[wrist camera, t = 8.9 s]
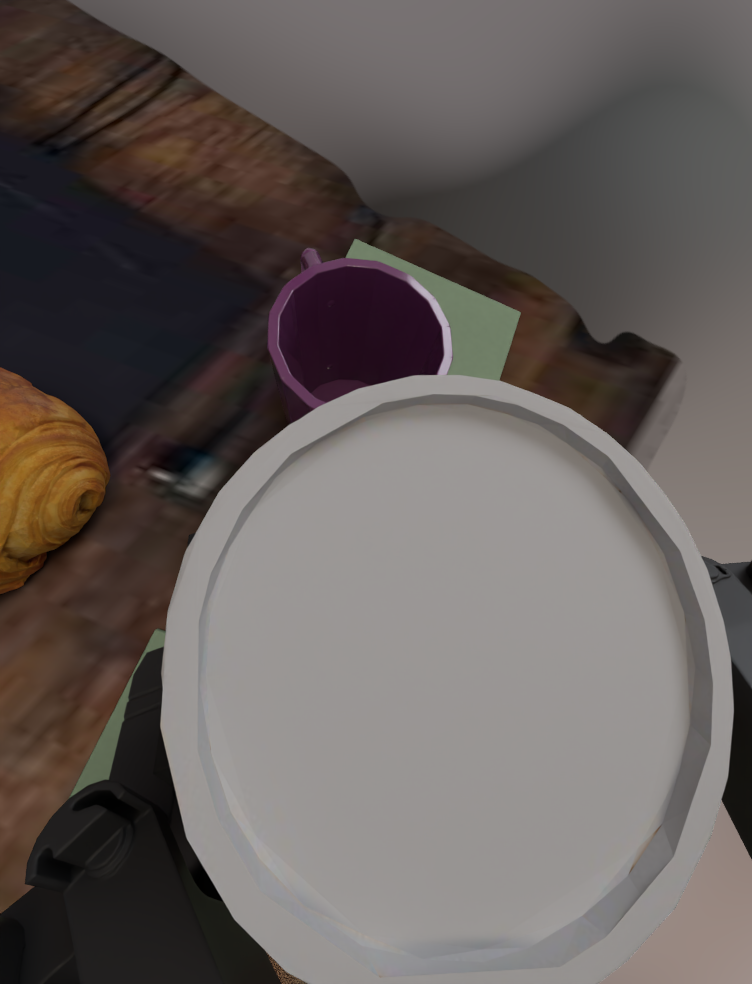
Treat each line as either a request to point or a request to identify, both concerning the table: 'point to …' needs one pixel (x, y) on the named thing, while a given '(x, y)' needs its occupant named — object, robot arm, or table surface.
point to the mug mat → (460, 317)
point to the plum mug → (352, 331)
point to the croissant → (42, 477)
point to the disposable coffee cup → (446, 692)
